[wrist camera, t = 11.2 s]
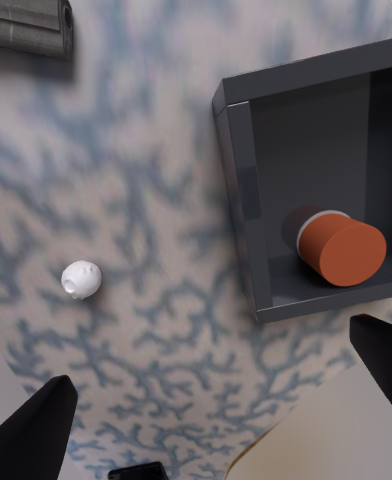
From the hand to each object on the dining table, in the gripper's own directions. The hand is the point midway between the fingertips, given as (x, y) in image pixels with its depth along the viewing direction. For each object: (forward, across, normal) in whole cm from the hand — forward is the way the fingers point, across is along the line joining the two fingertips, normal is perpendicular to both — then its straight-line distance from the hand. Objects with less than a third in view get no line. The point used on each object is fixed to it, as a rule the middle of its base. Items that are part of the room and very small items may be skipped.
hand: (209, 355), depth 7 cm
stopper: (+11, -10, +2) cm, 15 cm away
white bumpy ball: (+12, +9, +1) cm, 15 cm away
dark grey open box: (+12, -10, -2) cm, 16 cm away
